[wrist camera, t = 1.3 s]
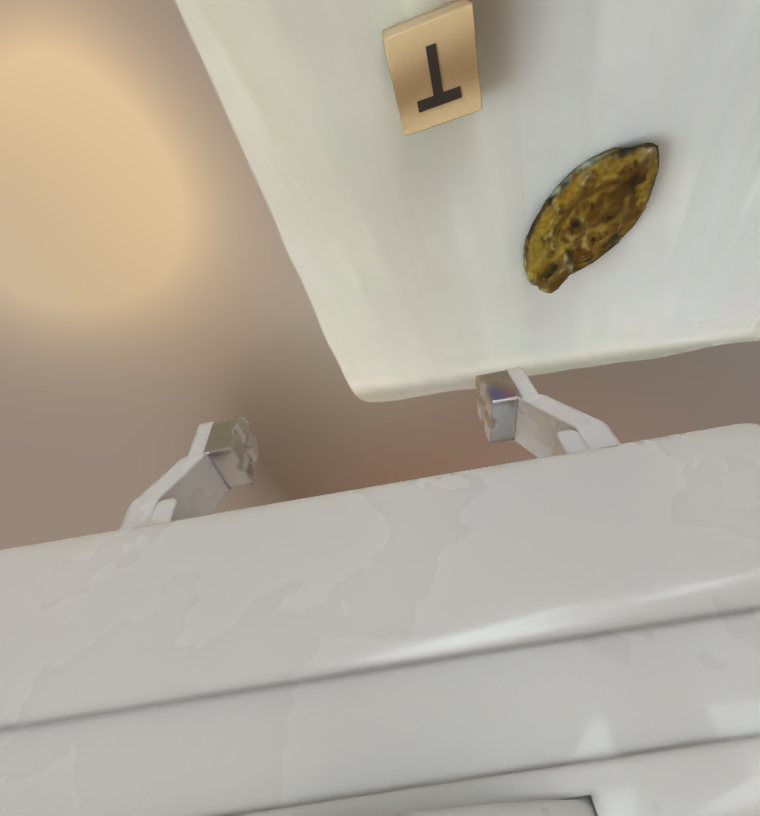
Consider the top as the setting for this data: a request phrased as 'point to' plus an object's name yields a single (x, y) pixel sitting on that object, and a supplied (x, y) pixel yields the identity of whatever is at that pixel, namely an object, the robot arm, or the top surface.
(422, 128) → the tile
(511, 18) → the top surface
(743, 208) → the top surface
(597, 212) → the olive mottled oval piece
